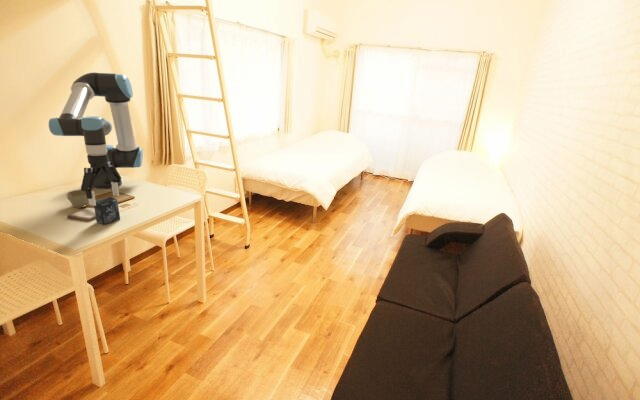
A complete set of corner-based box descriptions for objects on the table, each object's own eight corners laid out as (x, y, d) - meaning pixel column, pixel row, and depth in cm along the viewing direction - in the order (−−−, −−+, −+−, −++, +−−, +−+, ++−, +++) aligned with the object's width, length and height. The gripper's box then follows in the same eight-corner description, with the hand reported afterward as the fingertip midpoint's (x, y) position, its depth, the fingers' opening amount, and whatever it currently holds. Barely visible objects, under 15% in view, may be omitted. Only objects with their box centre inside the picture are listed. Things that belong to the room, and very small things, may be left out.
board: (88, 208, 165) (88, 206, 165) (110, 211, 163) (109, 209, 163) (67, 218, 154) (66, 215, 153) (90, 221, 152) (89, 218, 152)
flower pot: (81, 210, 162) (78, 197, 160) (64, 208, 164) (61, 194, 161) (98, 204, 172) (95, 190, 169) (81, 201, 173) (79, 188, 171)
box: (103, 225, 149) (100, 203, 146) (96, 222, 152) (92, 200, 148) (120, 219, 156) (117, 198, 152) (113, 216, 158) (110, 196, 155)
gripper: (111, 147, 155) (118, 191, 162) (63, 158, 132) (73, 208, 139) (126, 149, 154) (131, 192, 161) (80, 160, 131) (89, 210, 138)
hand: (105, 200), depth 150 cm, fingers open, 13 cm apart
